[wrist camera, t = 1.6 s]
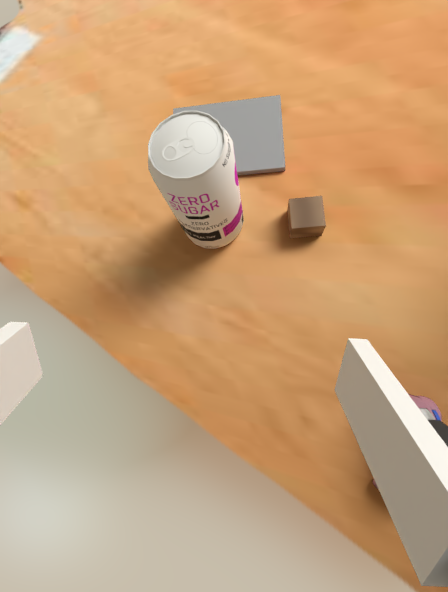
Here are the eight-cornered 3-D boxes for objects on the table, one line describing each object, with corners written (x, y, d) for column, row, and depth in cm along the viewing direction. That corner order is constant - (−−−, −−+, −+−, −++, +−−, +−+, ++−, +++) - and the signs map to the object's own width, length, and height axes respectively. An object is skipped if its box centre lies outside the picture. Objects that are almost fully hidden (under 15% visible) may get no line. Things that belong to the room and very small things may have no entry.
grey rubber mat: (279, 99, 43) (280, 95, 42) (284, 170, 40) (285, 167, 40) (175, 113, 45) (173, 108, 44) (173, 181, 43) (171, 178, 42)
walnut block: (317, 208, 39) (322, 195, 36) (321, 236, 38) (325, 225, 35) (287, 211, 39) (289, 199, 36) (289, 238, 38) (291, 228, 36)
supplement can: (228, 186, 41) (208, 90, 27) (253, 234, 39) (248, 157, 25) (176, 211, 41) (129, 130, 27) (199, 260, 39) (161, 200, 25)
